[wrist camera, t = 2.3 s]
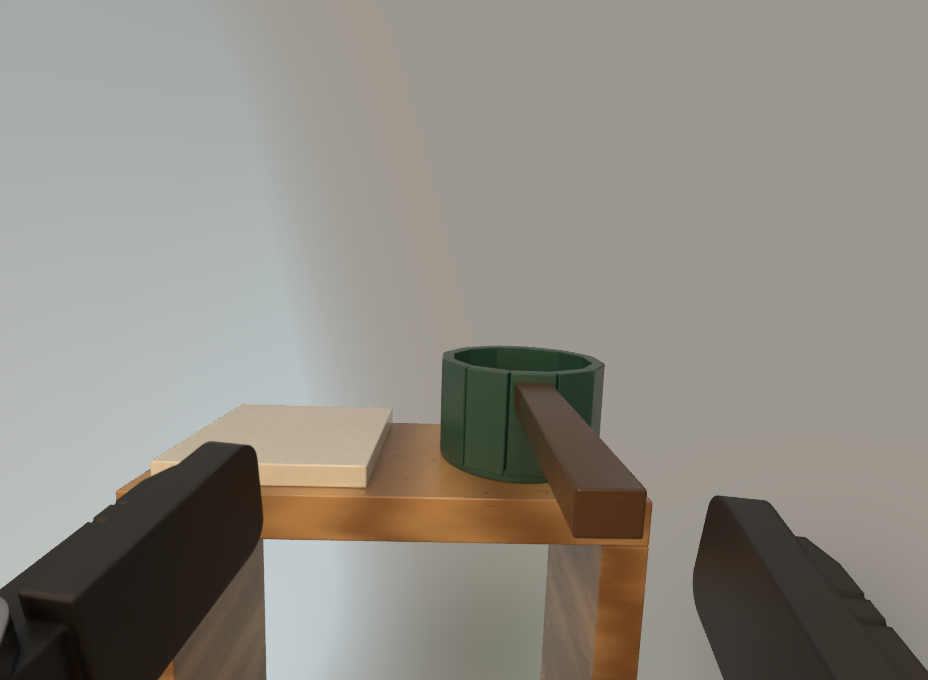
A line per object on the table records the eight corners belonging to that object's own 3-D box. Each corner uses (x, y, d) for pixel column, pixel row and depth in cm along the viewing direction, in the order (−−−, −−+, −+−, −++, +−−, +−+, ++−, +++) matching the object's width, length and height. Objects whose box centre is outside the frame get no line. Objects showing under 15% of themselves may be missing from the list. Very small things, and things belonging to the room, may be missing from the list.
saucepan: (767, 680, 11) (794, 475, 11) (424, 676, 11) (429, 467, 11) (573, 429, 30) (579, 348, 29) (441, 426, 30) (444, 344, 29)
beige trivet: (392, 424, 30) (392, 408, 30) (366, 488, 21) (366, 465, 21) (242, 420, 29) (241, 404, 29) (150, 484, 20) (149, 461, 20)
